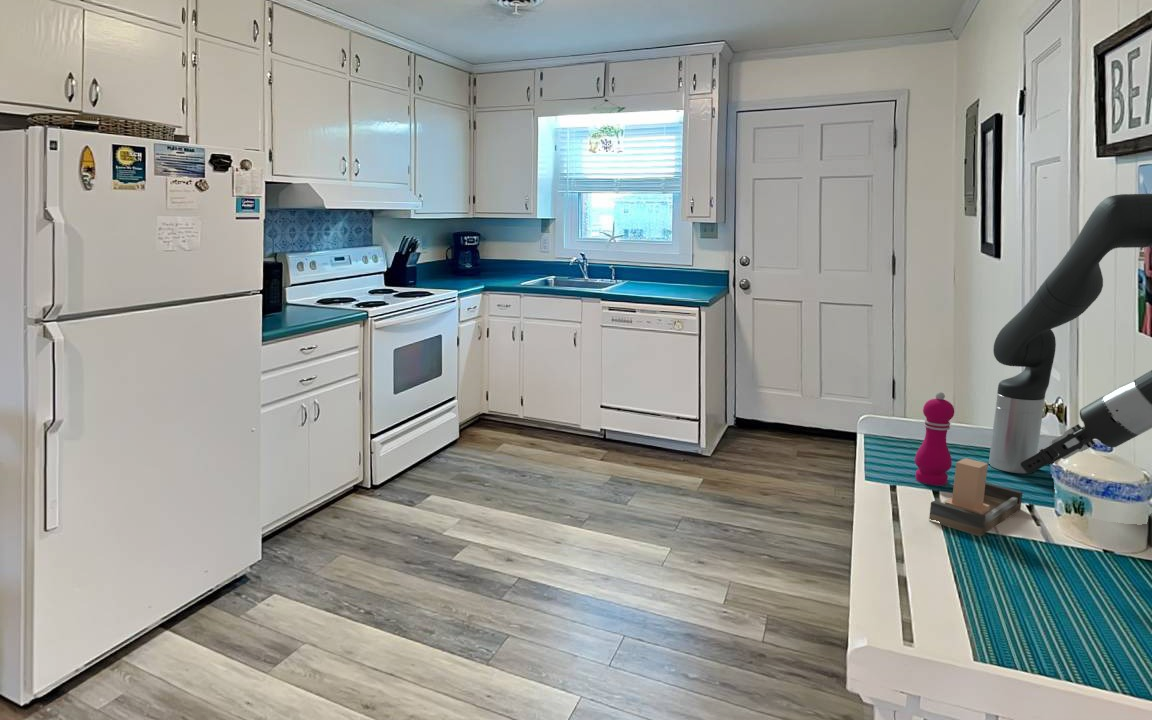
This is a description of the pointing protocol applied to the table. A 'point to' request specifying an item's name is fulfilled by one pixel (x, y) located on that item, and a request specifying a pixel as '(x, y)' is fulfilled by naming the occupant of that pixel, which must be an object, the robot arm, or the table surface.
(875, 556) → the table surface
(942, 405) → the pepper mill
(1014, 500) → the track
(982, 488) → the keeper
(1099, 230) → the robot arm
